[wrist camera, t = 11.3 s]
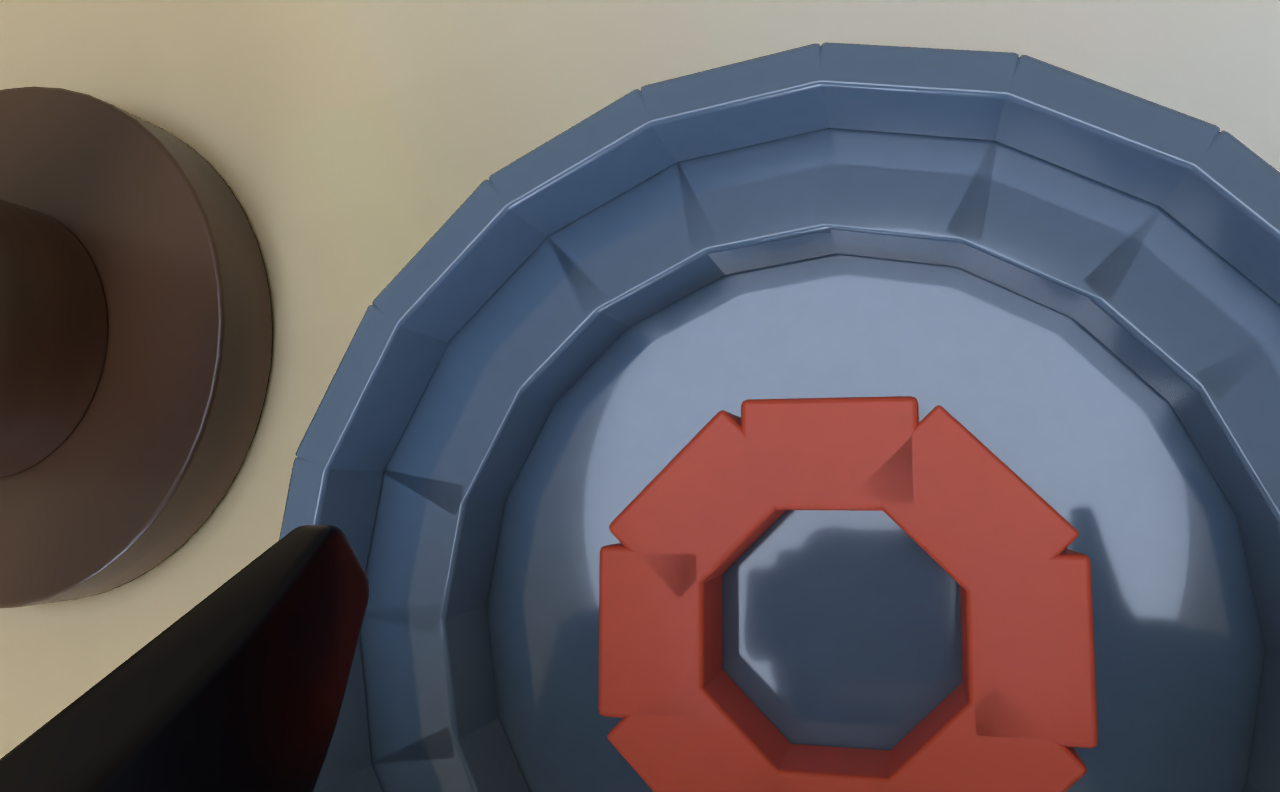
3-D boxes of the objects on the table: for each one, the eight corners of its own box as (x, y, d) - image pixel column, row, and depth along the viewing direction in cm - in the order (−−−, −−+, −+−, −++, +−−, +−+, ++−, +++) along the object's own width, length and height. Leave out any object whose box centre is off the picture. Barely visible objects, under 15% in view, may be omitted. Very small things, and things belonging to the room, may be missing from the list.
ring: (1084, 877, 14) (1105, 924, 13) (625, 833, 16) (595, 870, 14) (1067, 401, 15) (1085, 391, 13) (627, 409, 17) (598, 401, 15)
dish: (1630, 406, 14) (1898, 375, 10) (1085, 1389, 14) (1146, 1704, 10) (644, 10, 18) (575, -115, 14) (257, 779, 18) (95, 852, 15)
